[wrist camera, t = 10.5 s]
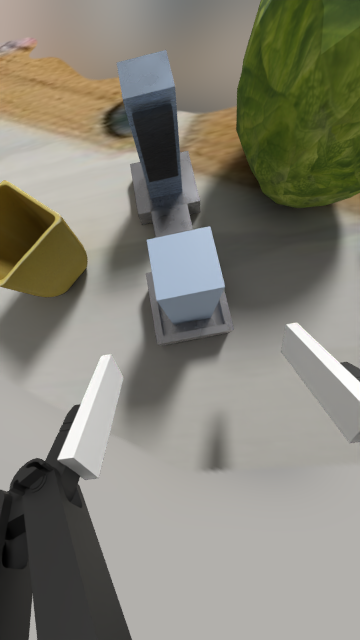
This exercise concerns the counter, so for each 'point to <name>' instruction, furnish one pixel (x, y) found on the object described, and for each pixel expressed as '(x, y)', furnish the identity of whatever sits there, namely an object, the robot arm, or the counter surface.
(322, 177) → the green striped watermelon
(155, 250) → the blue block
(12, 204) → the flower pot
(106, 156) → the counter surface
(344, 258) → the counter surface
